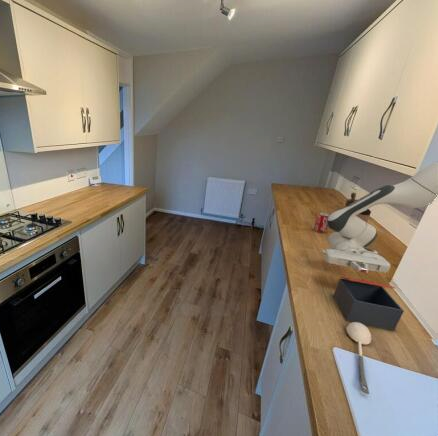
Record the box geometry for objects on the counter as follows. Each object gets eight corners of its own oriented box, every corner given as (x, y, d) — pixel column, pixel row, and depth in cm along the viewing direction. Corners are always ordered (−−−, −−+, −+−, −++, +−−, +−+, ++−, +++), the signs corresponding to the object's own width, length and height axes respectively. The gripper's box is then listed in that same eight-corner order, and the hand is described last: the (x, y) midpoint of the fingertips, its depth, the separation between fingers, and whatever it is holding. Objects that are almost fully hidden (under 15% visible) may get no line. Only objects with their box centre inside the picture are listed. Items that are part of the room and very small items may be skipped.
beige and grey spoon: (348, 314, 81) (344, 325, 82) (355, 372, 59) (349, 386, 60) (372, 322, 77) (367, 334, 79) (389, 387, 55) (381, 402, 57)
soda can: (327, 231, 156) (333, 214, 152) (323, 234, 152) (328, 216, 148) (315, 228, 161) (320, 211, 157) (311, 230, 158) (315, 213, 153)
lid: (340, 277, 92) (340, 276, 92) (382, 284, 88) (382, 283, 88) (348, 280, 85) (349, 279, 85) (394, 288, 81) (394, 287, 81)
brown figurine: (356, 220, 178) (365, 194, 171) (342, 217, 182) (350, 192, 175) (355, 216, 186) (363, 191, 179) (341, 213, 191) (349, 189, 184)
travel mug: (341, 238, 146) (351, 208, 139) (348, 236, 149) (359, 206, 142) (355, 243, 140) (367, 211, 133) (362, 241, 143) (374, 210, 136)
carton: (333, 295, 95) (339, 278, 92) (373, 304, 91) (381, 285, 88) (346, 320, 83) (354, 300, 80) (393, 331, 79) (404, 310, 76)
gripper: (322, 242, 103) (333, 257, 91) (381, 251, 96) (401, 269, 84) (318, 255, 105) (328, 271, 93) (375, 265, 99) (394, 283, 87)
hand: (363, 270), depth 89 cm, fingers closed
